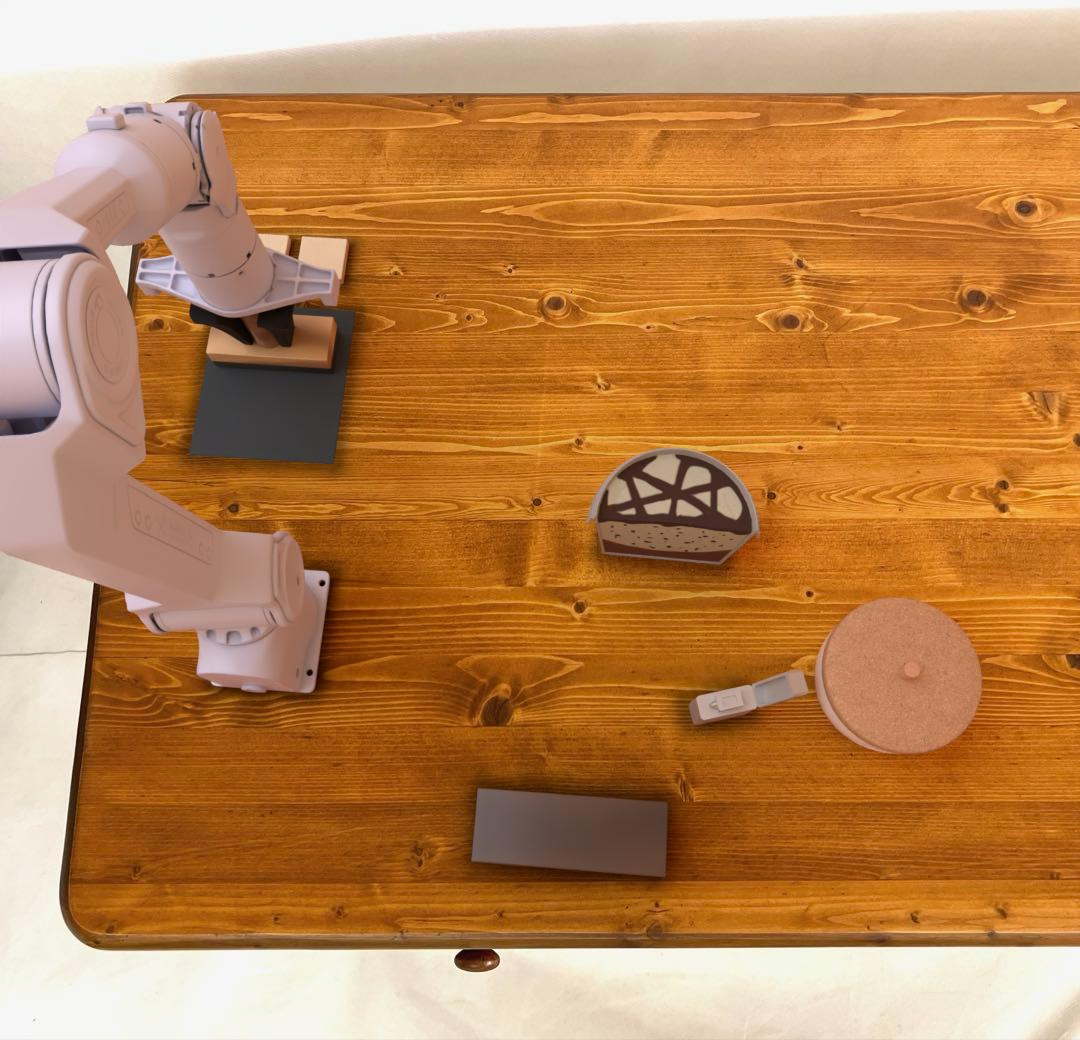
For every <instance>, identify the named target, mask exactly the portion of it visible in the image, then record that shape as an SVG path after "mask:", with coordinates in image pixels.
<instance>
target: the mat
mask: <svg viewBox="0 0 1080 1040" xmlns="http://www.w3.org/2000/svg"><path fill="white" fill-rule="evenodd" d="M293 315H307V316H323V317H333V318H334V320H335V322H336V325H337V327H338V329H339V331H340V332H339V339H338V345H337V352H336V359H335V365H334V372H333V374H329V373H313V372H297V371H282V370H266V369H251V368H235V367H220V366H215V365H214V363H213V362H212V360H211V359H210V358H209V356H208V355H207V357H206V361H205V368H204V372H203V377H202V383H201V389H200V394H199V399H198V404H197V409H196V414H195V419H194V425H193V431H192V435H191V441H190V446H189V452H188V455H189V456H200V457H201V456H202V457H216V458H232V459H248V460H264V461H278V462H280V461H281V462H295V463H311V464H326V465H334V463H335V458H336V451H337V443H338V436H339V430H340V422H341V417H342V415H341V414H342V408H343V402H344V395H345V388H346V382H347V375H348V374H347V373H348V366H349V360H350V353H351V346H352V339H353V332H354V325H355V318H356V310H347V309H332V308H317V307H316V308H313V307H298V306H297V307H296V306H294V311H293Z"/></svg>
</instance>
